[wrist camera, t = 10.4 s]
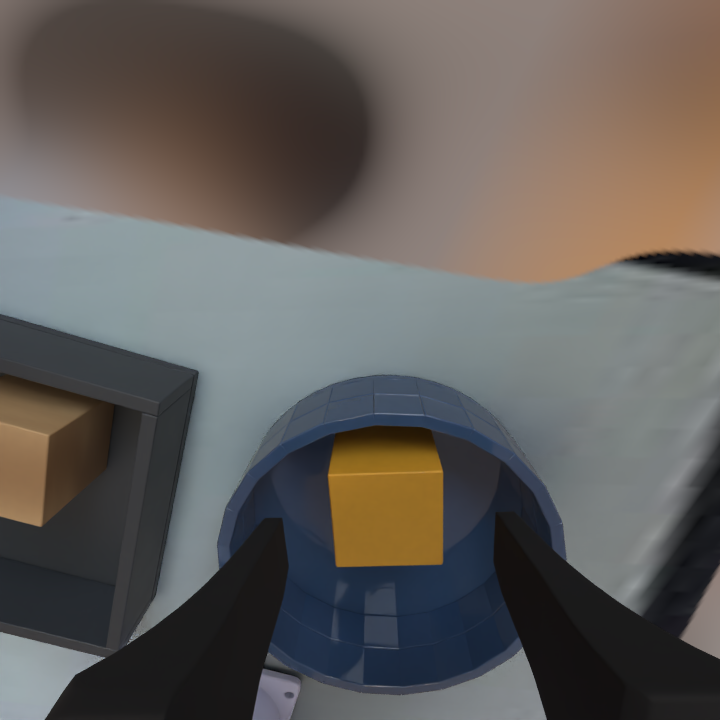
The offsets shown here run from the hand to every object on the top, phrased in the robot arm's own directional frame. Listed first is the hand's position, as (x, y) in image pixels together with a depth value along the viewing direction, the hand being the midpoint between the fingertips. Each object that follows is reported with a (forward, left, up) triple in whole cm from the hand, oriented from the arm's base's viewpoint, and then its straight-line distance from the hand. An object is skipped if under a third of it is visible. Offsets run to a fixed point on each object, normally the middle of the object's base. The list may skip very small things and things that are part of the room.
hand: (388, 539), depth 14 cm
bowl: (-3, -1, -5) cm, 6 cm away
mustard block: (0, 0, -5) cm, 5 cm away
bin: (-5, +14, -5) cm, 16 cm away
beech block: (-2, +14, -5) cm, 15 cm away
